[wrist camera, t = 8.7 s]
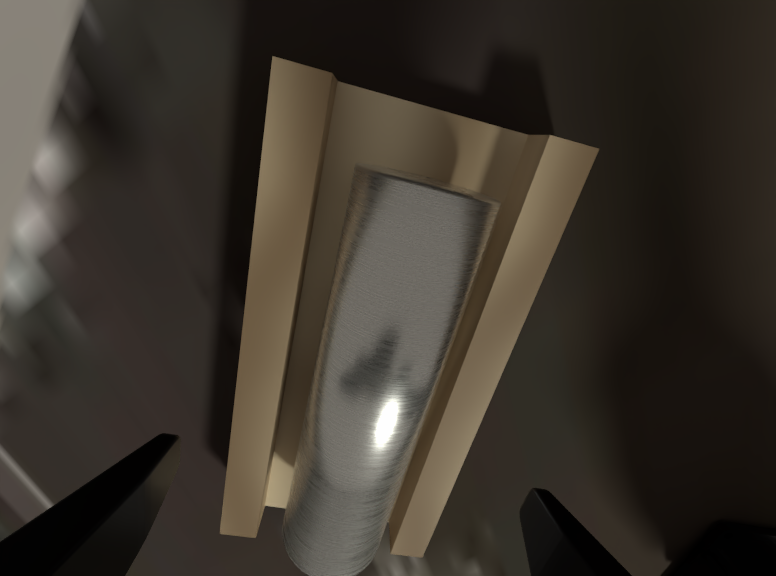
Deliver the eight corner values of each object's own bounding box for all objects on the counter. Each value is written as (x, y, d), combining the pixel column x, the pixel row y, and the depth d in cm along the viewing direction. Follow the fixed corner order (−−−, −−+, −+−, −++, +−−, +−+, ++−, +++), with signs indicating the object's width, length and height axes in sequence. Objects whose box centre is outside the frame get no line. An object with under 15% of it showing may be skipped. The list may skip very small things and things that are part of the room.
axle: (359, 159, 12) (349, 170, 8) (479, 190, 12) (524, 214, 8) (294, 476, 17) (270, 573, 13) (380, 490, 17) (380, 587, 13)
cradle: (557, 146, 13) (599, 148, 10) (416, 506, 19) (422, 557, 17) (292, 72, 11) (272, 56, 9) (239, 482, 18) (219, 533, 16)
